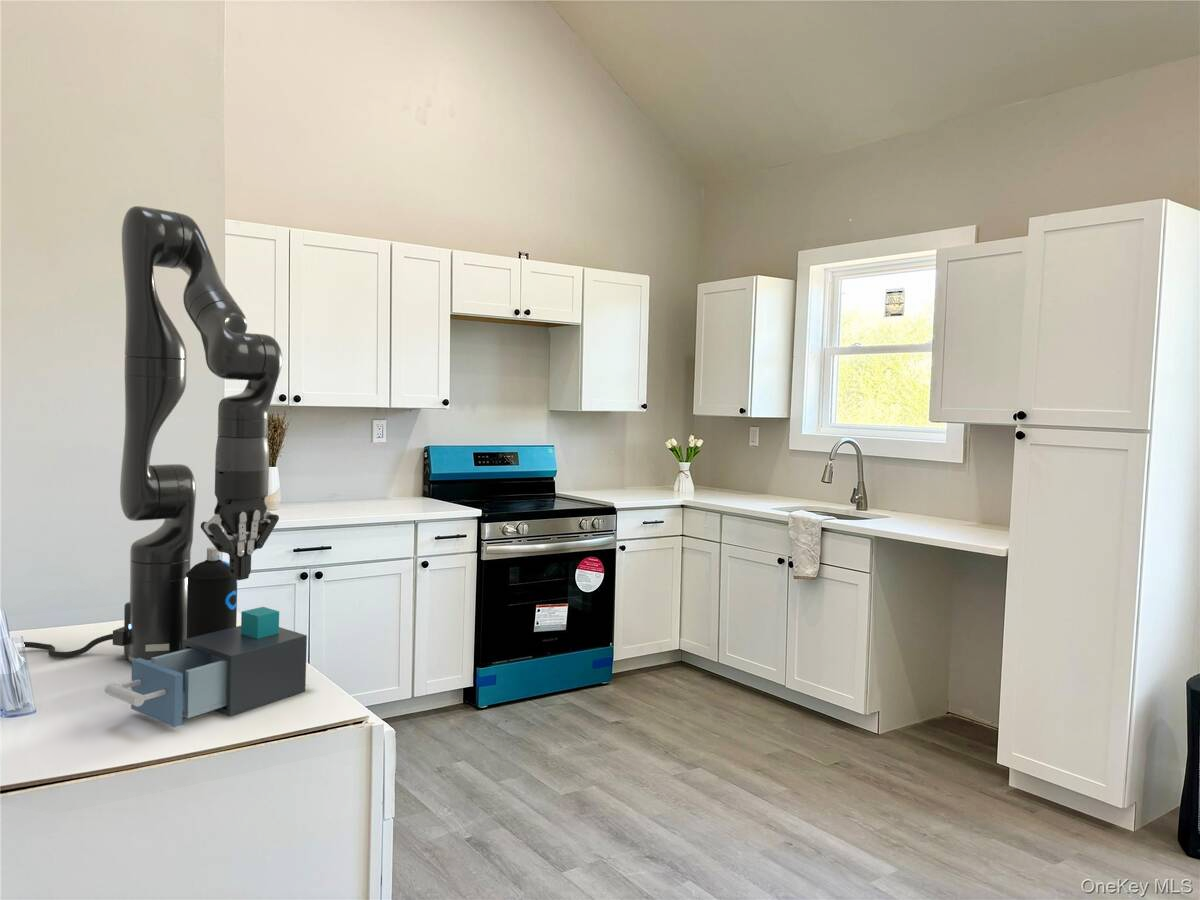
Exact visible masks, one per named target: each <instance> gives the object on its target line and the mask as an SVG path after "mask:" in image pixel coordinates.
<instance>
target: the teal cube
mask: <svg viewBox="0 0 1200 900" xmlns="http://www.w3.org/2000/svg"><path fill="white" fill-rule="evenodd" d="M240 617H241V618H240V620H241V621H240V626H241V634H243V635H246V636H249V637H252V638H255V639H260V638H264V637H267V636H271V635H275V634H279V627H280V611H279V610H276V609H272V608H269V607H266V606H260V607H256V608H251V609H246V610H242V611H241V616H240Z"/></svg>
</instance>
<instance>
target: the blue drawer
mask: <svg viewBox="0 0 1200 900" xmlns="http://www.w3.org/2000/svg"><path fill="white" fill-rule="evenodd" d="M227 674H228V660H226V659H223V658H220V657H218V656H215V655H212V654H209V653H206V652H203V651H200V650H197V649H194V648H189V649H185V650H181V651H177V652H173V653H169V654H165V655H161V656H157V657H153V658H151V662H150V661H147V660H144V659H142V658H137V659H133V660H132V662H131V680H130V681H127V682H124V683H120V684H118V683H115V682H109V683H108V684H107V685H106V686H105V688H104V693H105V694H106V695H108V696H111V697H113V698H114V699H118V700H119V701H121V702H125V703H127V704H129V705H130V709H131V710H133V711H135V712H137V713H140V714H142V715H145V716H147V717H149V718H151V719H154V720H156V721H159V722H161V723H164V724H166V725H168V726H171V727H173V728H177V727H179V726H182V725H183V717H184V718H186V719H191V718H193V717H196V716H200V715H203V714H205V713H208V712H211V711H215V709H218V708H221V707H224V706H227ZM129 688H131V689H129Z"/></svg>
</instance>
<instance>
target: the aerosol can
mask: <svg viewBox="0 0 1200 900" xmlns="http://www.w3.org/2000/svg"><path fill="white" fill-rule="evenodd" d="M186 576H187V577H188V585H187V639H188V638H192V637H196V636H200V635H204V634H208V633H213V632H217V631H221V630H225V629H229V628H233V627H237V617H238V615H237V611H238V580H235V579H232V577H231V576H230V573H229V562H227V561H225V560H222V559H220V552H219V551H218V550H217V549H216V548H215V546H210V547H207V548H206V559H205V560H204V561H201V562H198V563H197V564H194V565H193V566H192V567H190V571H188V572H187V573H186Z"/></svg>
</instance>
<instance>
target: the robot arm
mask: <svg viewBox="0 0 1200 900" xmlns="http://www.w3.org/2000/svg"><path fill="white" fill-rule="evenodd" d="M121 257H122V265H123V266H122V268H123V281H124V291H125V293H124V294H125V337H124V338H125V339H124V436H123V437H124V438H123V448H122V457H121V458H122V459H121V470H120V480H119V481H120V482H119V495H120V496H119V500H120V507H121V511H122V513H123V515H124V517H125V518H126V519H127V520H129V521H132V522H145V521H156V520H158V521H159V520H163V523H162V524H161V525H160V527H158V528H157V529H156V530H154V531H153V532H151V533H150V534H147V535H145V536H143V537H140V538H139V539H136V540H134V542H132V543H131V545H130V549H129V550H130V552H129V553H130V555H129V559H130V560H129V564H130V565H129V579H130V580H129V601H128V602H126V603H125V604H124V611H123V613H124V614H123V615H124V617H123V618H124V619H123V625H124V626H121V627H118V628H116V629H114V630H112V633H109V634H106V635H102V636H99V637H96V638H95V639H92V640H91V641H90V642H89V643H87V644H86V645H85V646H83V647H80V648H78V649H75V650H69V651H56V647H55V646H54V645H53V644H49V643H42V642H36V641H35V642H34V641H23V642H24V644H25V647H24V648H30V649H38V650H44V651H47V653H48V656H50V657H53V658H71V657H77V656H80V655H83V654H85V653H87V652H89V651H90V650H91V649H92V648H94V647H95V646H96V645H98V644H101V643H104V642H107V641H111V640H112V646H118V647H119V646H120V647H123V659H125V660H128V661H129V662H131V663H132V660H133V659H137V658H142V659H144V660H147V661H150V662H151V658H153V657H157V656H161V655H165V654H169V653H173V652H177V651H181V650H183V640H184V639H187V585H188V577H187V576H186V573H187V572H188V571H190V569H191V555H192V546H193V542H194V541H193V540H194V527H195V511H196V500H197V499H196V497H197V490H196V489H197V488H196V487H197V486H196V480H195V479H196V478H195V475H194V473H193V471H192V469H191V468H190V467H189V466H187V465H186V464H180V463H177V464H176V463H174V464H171V463H169V464H150V463H151V456H152V450H153V445H154V443H155V440H156V437H157V435H158V433H159V432H160V429H161V428H162V426H163V425H164V423H165V422H166V421H167V419H168V417H169V416H170V415H171V413H172V412H173V411H174V409H175V408H176V406H177V405H178V403H179V402H180V400H181V399H182V397H183V395H184V392H185V390H186V388H187V387H186V386H187V365H188V364H187V357H188V356H187V354H188V353H187V347H186V345H185V344H186V343H185V342H184V340H183V337H182V335H181V334H180V332H179V330H178V328H177V326H176V325H175V324H174V322H173V320H172V319H171V318H170V315H169V314H168V312H167V311H166V309H165V307H164V305H163V304H162V301H161V299H160V297H159V295H158V291H157V287H156V286H157V285H156V279H155V272H154V271H155V270H154V267H159V268H168V269H180V270H182V271H183V272H185V274H186V275H187V276H188V279H187V282H186V283H185V286H184V289H183V293H182V299H183V306H184V309H185V312H186V313H187V315H188V317H189V319H190V320H191V321H192V323H193V325H194V326H195V328H196V329H197V331H198V333H199V334H200V337H201V342H202V346H203V352H204V356H205V357H204V358H205V362H206V363H205V364H206V366H207V368H208V369H209V371H210V372H211V373H212V374H213V375H215V376H216V377H218V378H219V379H223V380H227V381H228V380H229V381H247V384H246V385H245V387H244V389H243V391H241V392H240V393H238V394H234V395H230V396H225V397H222V399H220V400H219V403H218V407H217V410H218V411H217V440H216V446H215V457H214V458H215V459H214V461H215V462H214V496H215V497H216V501H217V502H216V505H215V508H214V511H213V513H214V515H213V516H212V517H211V518H210V519H209V520H208V521H202V522H201V523H200V529H201V530H202V532H203V533H204V534H205V536H206V537H207V538H208V540H209V541H210V543H211V544H212V545H213V547H215V548H216V549H217V550H218V551H219V553H224V554H228V556H229V559H228V560H229V562H228V563H229V573H230V576H231V577H232V579H235V580H237V581H242V580H243V581H244V580H247V579H249V577H250V574H251V573H252V555H253V553H254V552H255V551H256V550H261V549H263V547H264V545H265V544H266V542H267V541H268V538H269V537H270V536H271V533H272V532H273V530H274V529H275V527H276V525H277V524H278V522H279V519H280V516H279V514H274V513H272V512H271V511H269V510H268V504H267V501H266V498H267V497H268V495H269V480H270V479H269V477H270V476H269V474H270V471H269V470H270V446H269V411H270V406H271V404H272V400H273V396H274V392H275V389H276V386H277V383H278V381H279V377H280V375H281V374H280V373H281V371H282V366H283V353H282V349H281V347H280V344H279V343H278V341H277V340H276V339H275V338H274V337H273V336H271V335H268V334H263V333H251V332H247V329H248V321H247V318H246V315H245V313H244V312H243V310H242V309H241V306H240V305H238V303H237V302H236V300H235V299H234V297H233V296H232V294H231V293H230V291H229V290H228V289H227V287H226V285H225V284H224V281H223V280H222V278H221V276H220V274H219V270H218V267H217V266H216V263H215V261H214V258H213V256H212V253H211V251H210V249H209V246H208V244H207V241H206V239H205V236H204V235H203V232H202V230H201V228H200V226H199V225H198V224H197V222H196V221H195V220H194V219H193V218H192V217H190V216H189V215H187V214H184V213H180V212H176V211H169V210H164V209H159V208H154V207H148V206H141V205H140V206H139V205H134V206H132V207H130V208H129V209H128V210H127V211H126V213H125V214H124V217H123V220H122V226H121Z"/></svg>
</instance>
